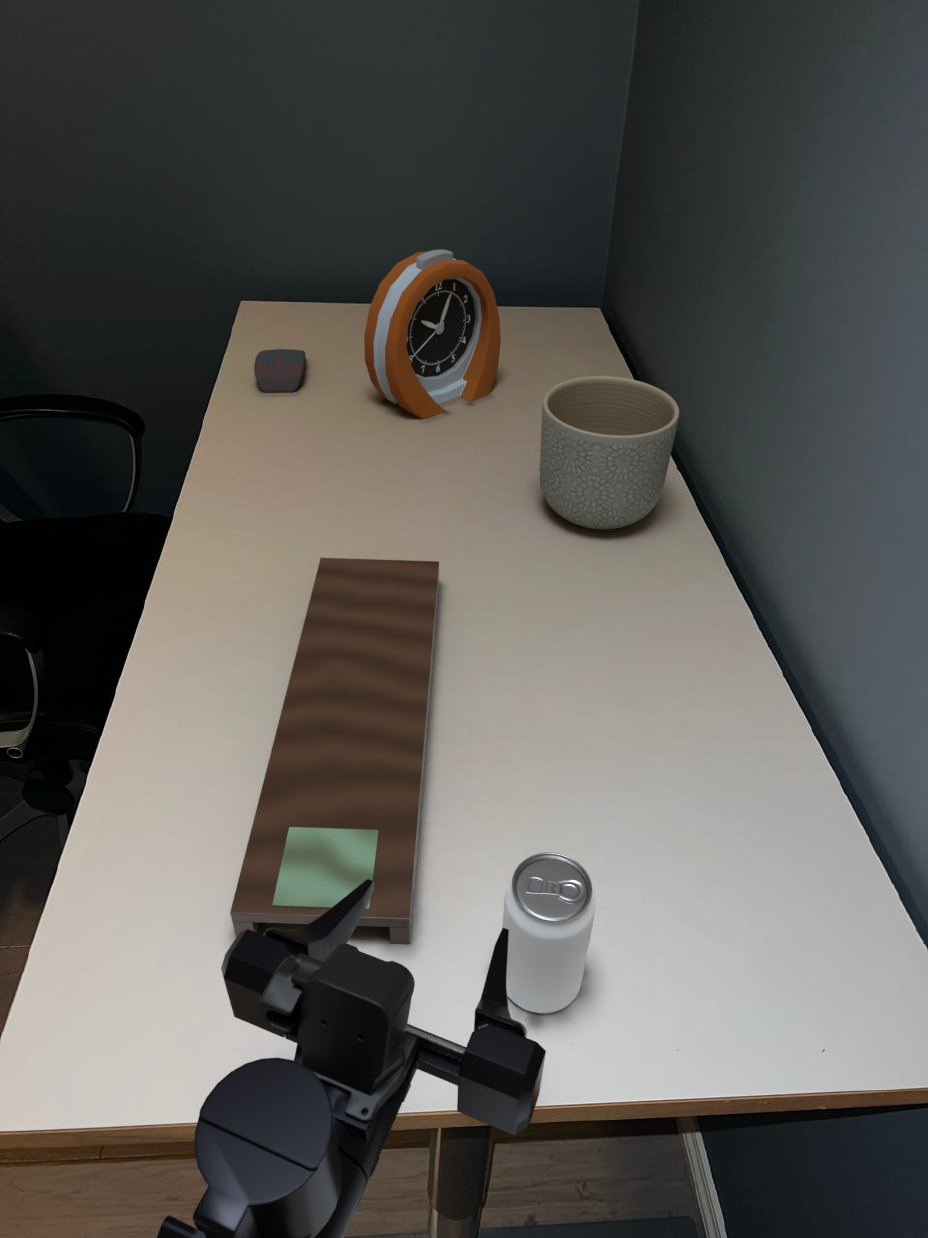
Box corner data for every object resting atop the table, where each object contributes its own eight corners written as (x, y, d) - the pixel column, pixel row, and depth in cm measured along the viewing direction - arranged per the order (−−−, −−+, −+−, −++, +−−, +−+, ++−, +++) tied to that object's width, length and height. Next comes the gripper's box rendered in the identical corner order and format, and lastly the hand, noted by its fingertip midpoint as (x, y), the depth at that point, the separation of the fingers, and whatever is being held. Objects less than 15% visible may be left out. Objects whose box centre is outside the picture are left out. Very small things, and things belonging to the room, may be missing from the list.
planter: (591, 464, 134) (604, 364, 124) (686, 512, 124) (707, 407, 115) (508, 505, 125) (514, 400, 115) (603, 560, 115) (618, 451, 106)
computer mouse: (253, 392, 150) (250, 369, 147) (263, 357, 160) (260, 335, 158) (303, 392, 150) (301, 369, 148) (310, 357, 161) (308, 335, 158)
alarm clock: (404, 427, 142) (400, 278, 127) (365, 404, 147) (357, 259, 133) (508, 386, 153) (515, 246, 139) (468, 367, 159) (471, 230, 145)
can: (577, 1023, 69) (595, 934, 61) (492, 1008, 70) (499, 918, 62) (584, 946, 74) (601, 854, 66) (504, 933, 75) (512, 841, 67)
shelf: (410, 944, 74) (409, 918, 71) (235, 938, 74) (229, 911, 72) (439, 584, 111) (439, 559, 108) (322, 581, 111) (320, 556, 109)
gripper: (496, 1167, 39) (594, 878, 50) (131, 1008, 44) (294, 778, 56) (487, 1256, 46) (575, 985, 57) (173, 1110, 51) (310, 887, 63)
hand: (437, 907), depth 58 cm, fingers open, 9 cm apart
